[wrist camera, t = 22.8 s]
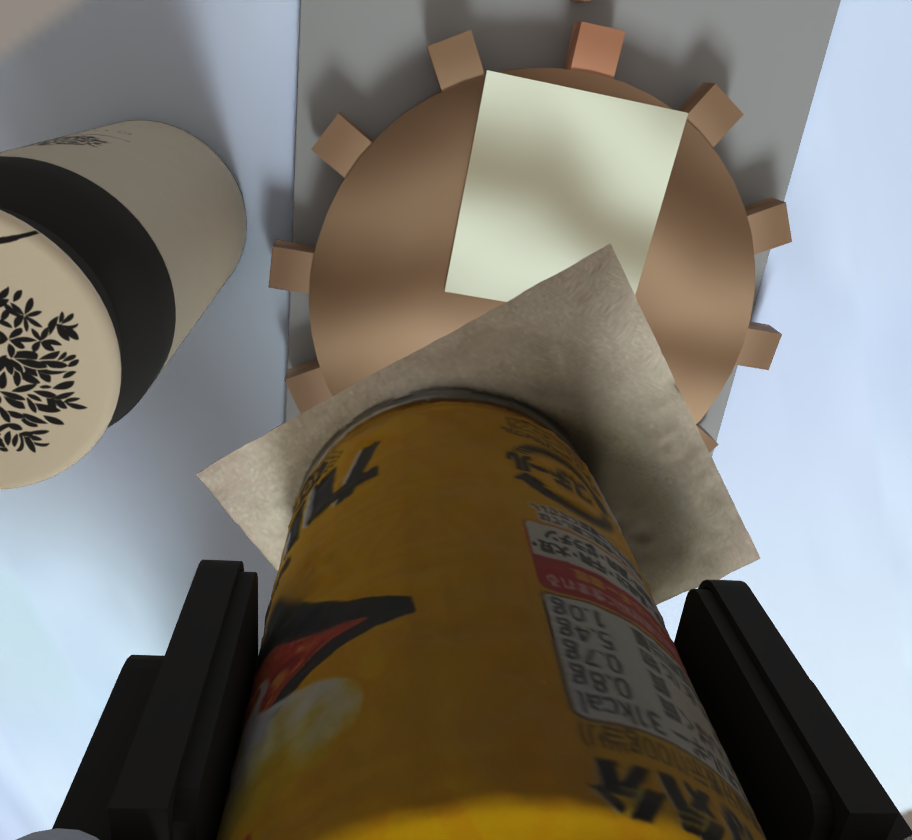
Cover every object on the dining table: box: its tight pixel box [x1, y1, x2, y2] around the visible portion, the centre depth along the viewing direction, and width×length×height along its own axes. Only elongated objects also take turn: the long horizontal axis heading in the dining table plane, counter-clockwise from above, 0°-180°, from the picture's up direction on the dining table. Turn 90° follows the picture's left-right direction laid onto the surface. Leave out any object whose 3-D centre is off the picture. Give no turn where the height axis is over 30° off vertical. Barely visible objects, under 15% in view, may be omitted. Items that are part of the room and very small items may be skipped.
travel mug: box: [0, 120, 247, 490], centre depth 27 cm, size 8×8×18 cm
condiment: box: [196, 244, 766, 840], centre depth 10 cm, size 7×8×12 cm
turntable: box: [269, 21, 792, 453], centre depth 34 cm, size 23×23×7 cm
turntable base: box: [286, 0, 840, 457], centre depth 35 cm, size 26×22×6 cm
